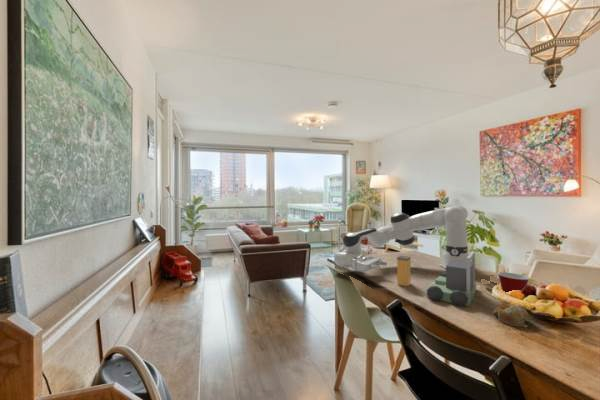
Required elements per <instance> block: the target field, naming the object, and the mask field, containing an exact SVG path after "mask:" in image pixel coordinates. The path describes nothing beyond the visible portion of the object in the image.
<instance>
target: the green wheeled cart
mask: <svg viewBox="0 0 600 400" xmlns="http://www.w3.org/2000/svg"><path fill="white" fill-rule="evenodd" d="M470 262H471V263H470ZM434 281H435V282H434V283H431V284H430V285H429V286H428V287H427V288H426V298H427V299H430V300H431V301H433V302H434V301H435V302H438V301H441V302H446V303H451V304H453V305H455V306H457V307H463V306H465V307H470V305H471V303H472V301H473V298H474V296H475V294H476V292H477V282H476V251H474V250H472V251H471V252H469V253H468V257H467V258H466V262H458V261H450V262H449V263H448V264H447V265H446V268H445V271H444V272H443V273H442V274H441V275H439V276H437V278H435V279H434Z"/></svg>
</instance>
